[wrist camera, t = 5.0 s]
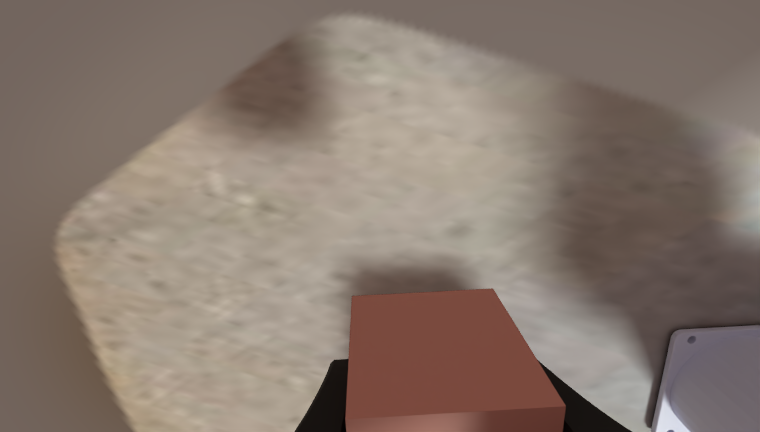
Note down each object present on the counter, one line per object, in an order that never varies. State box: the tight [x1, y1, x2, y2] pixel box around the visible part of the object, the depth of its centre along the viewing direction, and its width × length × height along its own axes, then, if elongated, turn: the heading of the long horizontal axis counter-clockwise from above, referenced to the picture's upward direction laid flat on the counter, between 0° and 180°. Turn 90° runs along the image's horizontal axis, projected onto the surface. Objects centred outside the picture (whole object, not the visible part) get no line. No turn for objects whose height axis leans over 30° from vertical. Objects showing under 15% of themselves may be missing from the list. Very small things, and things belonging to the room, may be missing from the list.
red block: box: [345, 289, 566, 432], centre depth 11 cm, size 4×4×5 cm
